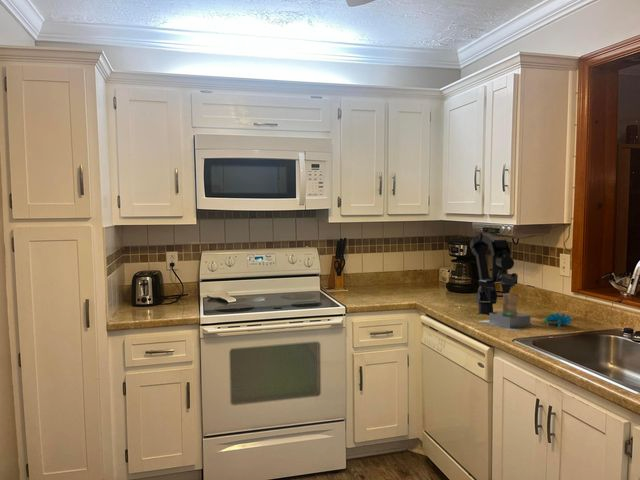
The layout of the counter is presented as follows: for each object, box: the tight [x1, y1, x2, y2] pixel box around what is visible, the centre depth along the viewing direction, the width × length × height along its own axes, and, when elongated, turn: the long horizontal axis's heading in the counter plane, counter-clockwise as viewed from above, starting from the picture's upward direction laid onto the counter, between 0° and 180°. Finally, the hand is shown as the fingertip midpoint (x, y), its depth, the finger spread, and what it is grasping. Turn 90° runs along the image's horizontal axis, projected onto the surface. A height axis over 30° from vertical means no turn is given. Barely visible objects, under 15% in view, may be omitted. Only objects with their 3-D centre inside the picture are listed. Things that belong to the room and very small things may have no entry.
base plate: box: [478, 319, 540, 332], centre depth 213 cm, size 20×18×1 cm
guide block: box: [488, 310, 531, 329], centre depth 213 cm, size 12×12×5 cm
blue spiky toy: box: [543, 312, 573, 328], centre depth 208 cm, size 11×6×10 cm
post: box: [502, 292, 518, 316], centre depth 213 cm, size 4×4×10 cm
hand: (497, 300), depth 219 cm, fingers open, 9 cm apart
